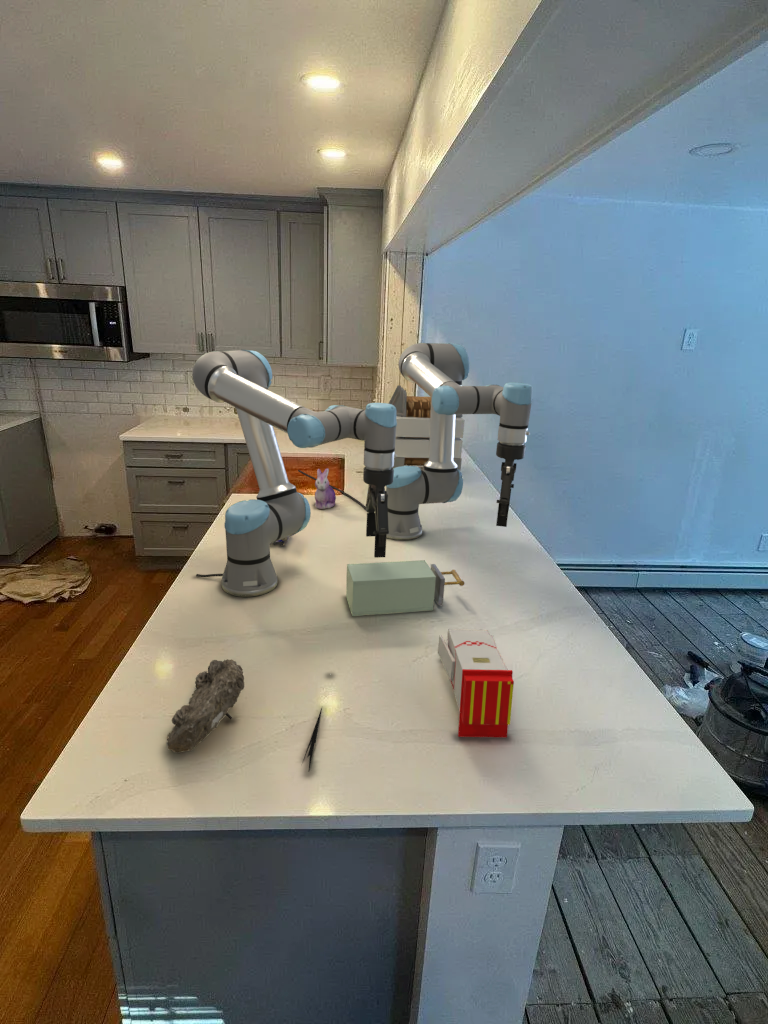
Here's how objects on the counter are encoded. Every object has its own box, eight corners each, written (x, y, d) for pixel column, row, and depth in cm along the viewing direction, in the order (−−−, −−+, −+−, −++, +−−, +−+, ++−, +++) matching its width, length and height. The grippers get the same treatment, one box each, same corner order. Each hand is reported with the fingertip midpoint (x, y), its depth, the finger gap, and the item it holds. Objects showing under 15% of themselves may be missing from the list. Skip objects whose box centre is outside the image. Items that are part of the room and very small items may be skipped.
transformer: (382, 463, 289) (386, 382, 275) (445, 464, 293) (451, 384, 279) (390, 482, 257) (394, 392, 243) (460, 483, 261) (468, 394, 247)
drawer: (453, 588, 160) (455, 562, 158) (463, 603, 152) (466, 577, 149) (361, 594, 155) (362, 567, 152) (367, 610, 146) (368, 583, 144)
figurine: (318, 511, 218) (318, 473, 213) (309, 502, 226) (309, 466, 221) (341, 508, 222) (341, 471, 217) (331, 500, 231) (331, 464, 226)
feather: (331, 679, 122) (336, 673, 122) (307, 777, 96) (313, 769, 95) (324, 675, 122) (329, 669, 121) (298, 772, 95) (304, 764, 95)
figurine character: (288, 552, 184) (293, 530, 198) (287, 531, 181) (293, 510, 194) (267, 551, 184) (274, 529, 197) (266, 530, 181) (273, 510, 194)
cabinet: (422, 592, 159) (424, 560, 156) (433, 610, 150) (435, 576, 147) (346, 597, 155) (346, 564, 151) (352, 616, 145) (353, 581, 142)
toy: (488, 613, 130) (523, 677, 101) (484, 667, 133) (517, 744, 104) (435, 612, 130) (455, 676, 101) (432, 666, 133) (451, 743, 103)
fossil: (192, 660, 117) (244, 628, 112) (224, 691, 120) (276, 661, 115) (142, 746, 98) (202, 712, 93) (182, 779, 101) (242, 748, 96)
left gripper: (404, 481, 129) (399, 566, 136) (384, 454, 152) (381, 527, 159) (371, 482, 128) (368, 567, 135) (357, 454, 151) (354, 528, 158)
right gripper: (525, 454, 138) (515, 535, 145) (526, 434, 161) (517, 505, 168) (494, 451, 140) (485, 531, 147) (499, 432, 163) (492, 502, 170)
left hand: (375, 546), depth 147 cm, fingers open, 13 cm apart
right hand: (502, 517), depth 158 cm, fingers open, 13 cm apart
